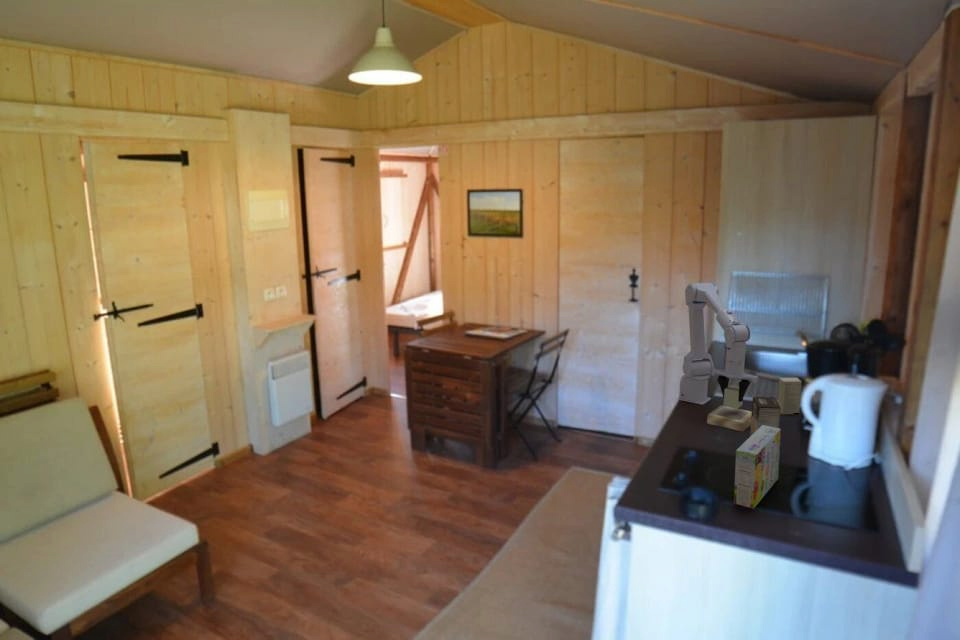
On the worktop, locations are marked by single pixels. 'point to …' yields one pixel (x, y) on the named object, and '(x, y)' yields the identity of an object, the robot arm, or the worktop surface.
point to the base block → (730, 418)
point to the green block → (732, 397)
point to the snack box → (756, 466)
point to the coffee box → (764, 413)
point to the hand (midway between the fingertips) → (732, 399)
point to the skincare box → (789, 395)
